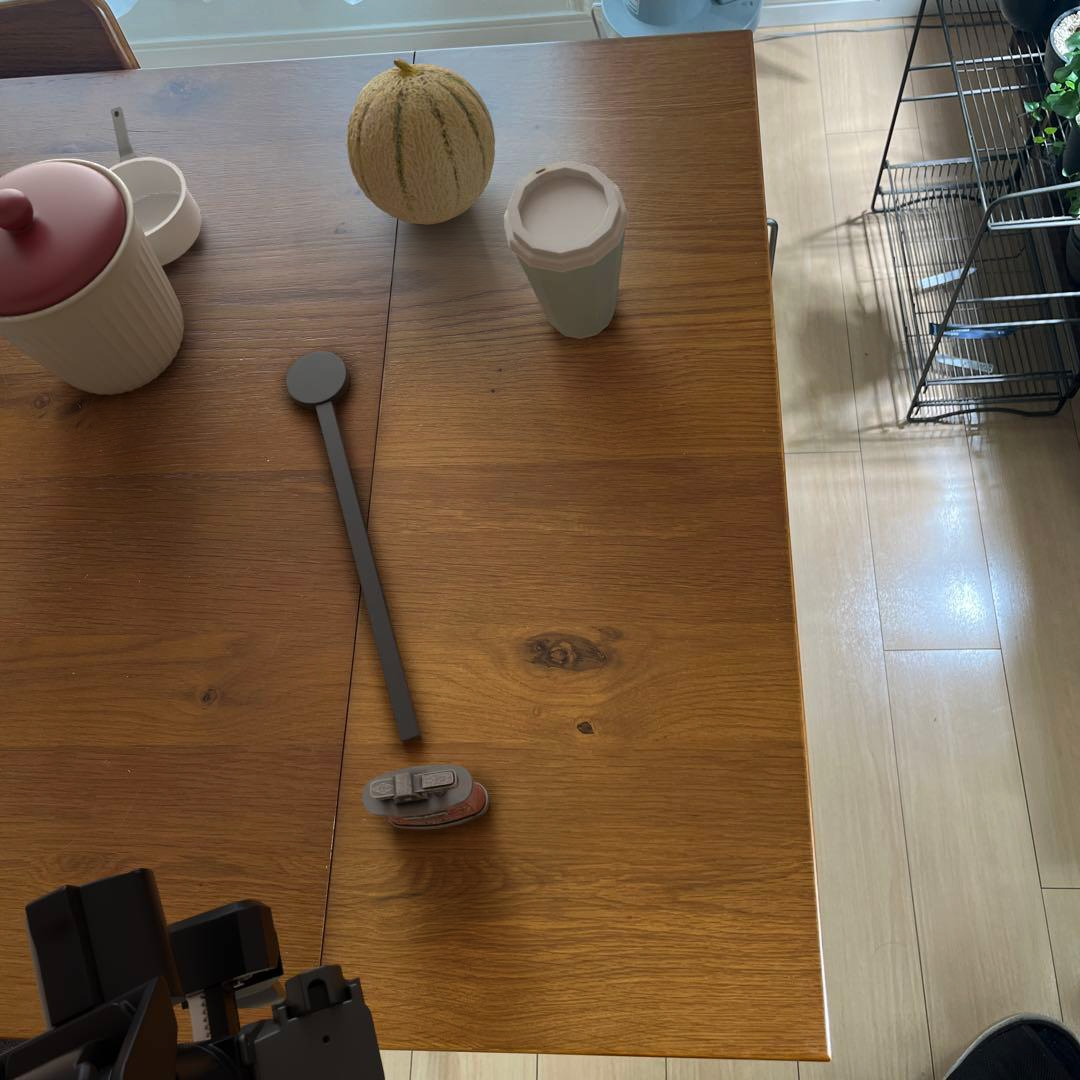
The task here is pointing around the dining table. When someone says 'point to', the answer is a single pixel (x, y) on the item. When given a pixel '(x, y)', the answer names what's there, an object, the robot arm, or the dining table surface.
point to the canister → (83, 278)
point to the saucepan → (157, 198)
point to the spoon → (354, 520)
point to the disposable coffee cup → (569, 243)
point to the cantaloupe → (421, 143)
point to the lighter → (426, 797)
